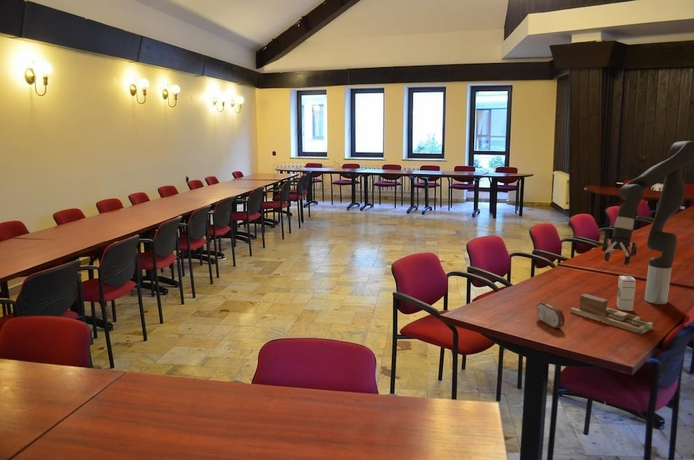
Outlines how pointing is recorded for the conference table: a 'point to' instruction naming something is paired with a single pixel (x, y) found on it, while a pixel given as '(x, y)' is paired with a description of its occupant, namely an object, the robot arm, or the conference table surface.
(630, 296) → the syrup box
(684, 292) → the conference table surface
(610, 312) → the lane
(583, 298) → the block
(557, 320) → the tin
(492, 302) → the conference table surface
